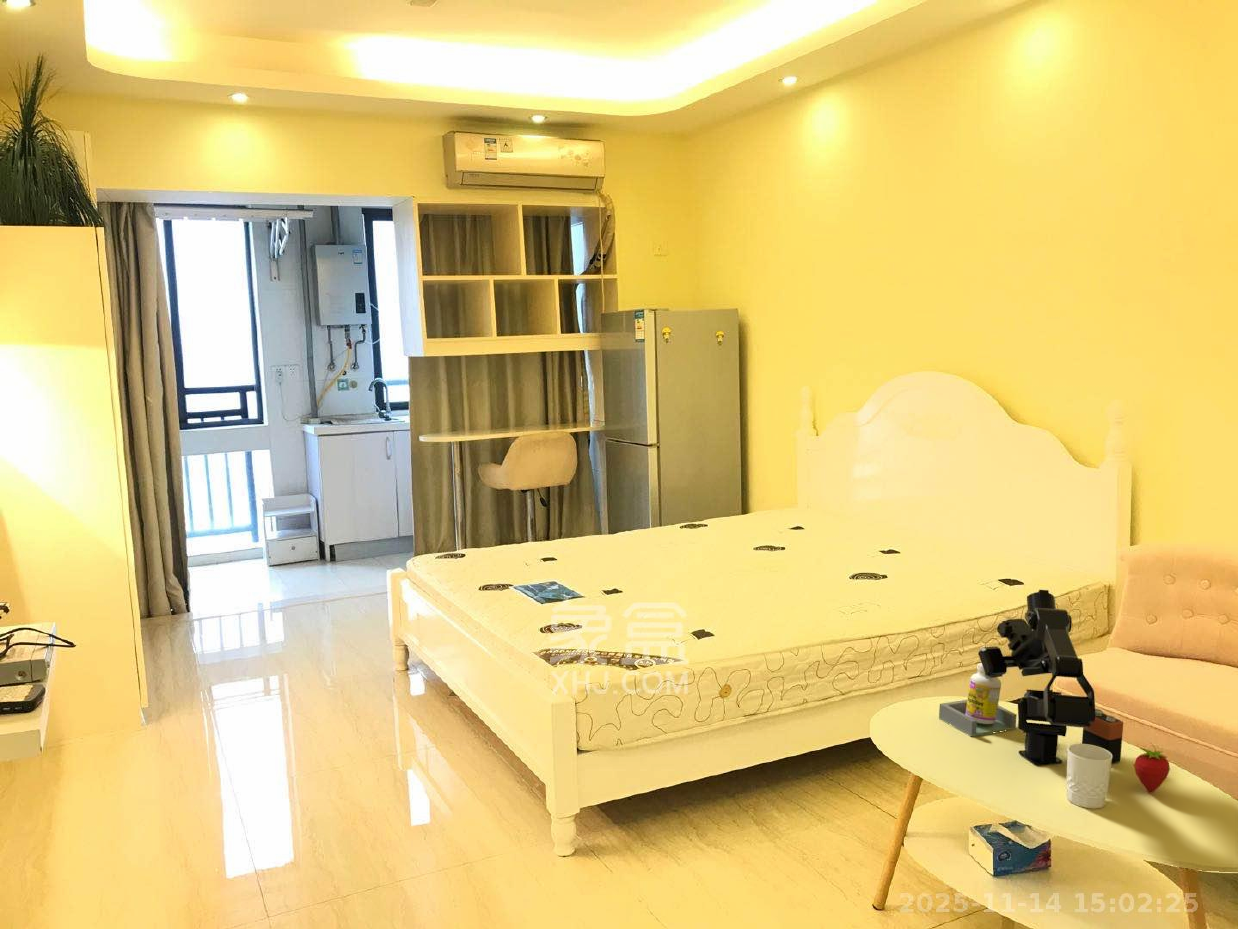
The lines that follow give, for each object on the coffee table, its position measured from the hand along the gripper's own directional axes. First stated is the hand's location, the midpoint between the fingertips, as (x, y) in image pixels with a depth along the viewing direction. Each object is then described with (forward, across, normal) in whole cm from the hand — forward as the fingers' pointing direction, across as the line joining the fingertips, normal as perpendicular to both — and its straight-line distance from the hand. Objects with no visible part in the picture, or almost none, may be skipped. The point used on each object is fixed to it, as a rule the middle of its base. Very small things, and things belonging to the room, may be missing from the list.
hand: (1004, 675), depth 233 cm
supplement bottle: (+9, +5, +7) cm, 12 cm away
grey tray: (+9, +5, +8) cm, 13 cm away
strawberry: (-17, -10, +34) cm, 39 cm away
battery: (-6, -11, +22) cm, 26 cm away
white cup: (-18, +5, +34) cm, 39 cm away
